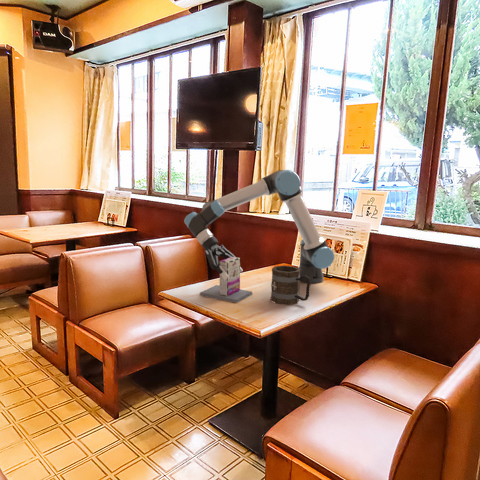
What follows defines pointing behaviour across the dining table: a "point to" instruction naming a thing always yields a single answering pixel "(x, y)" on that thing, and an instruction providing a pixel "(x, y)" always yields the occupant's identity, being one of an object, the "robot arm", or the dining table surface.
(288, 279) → the mug
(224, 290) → the candy bar box
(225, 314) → the dining table surface
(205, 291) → the slate board
